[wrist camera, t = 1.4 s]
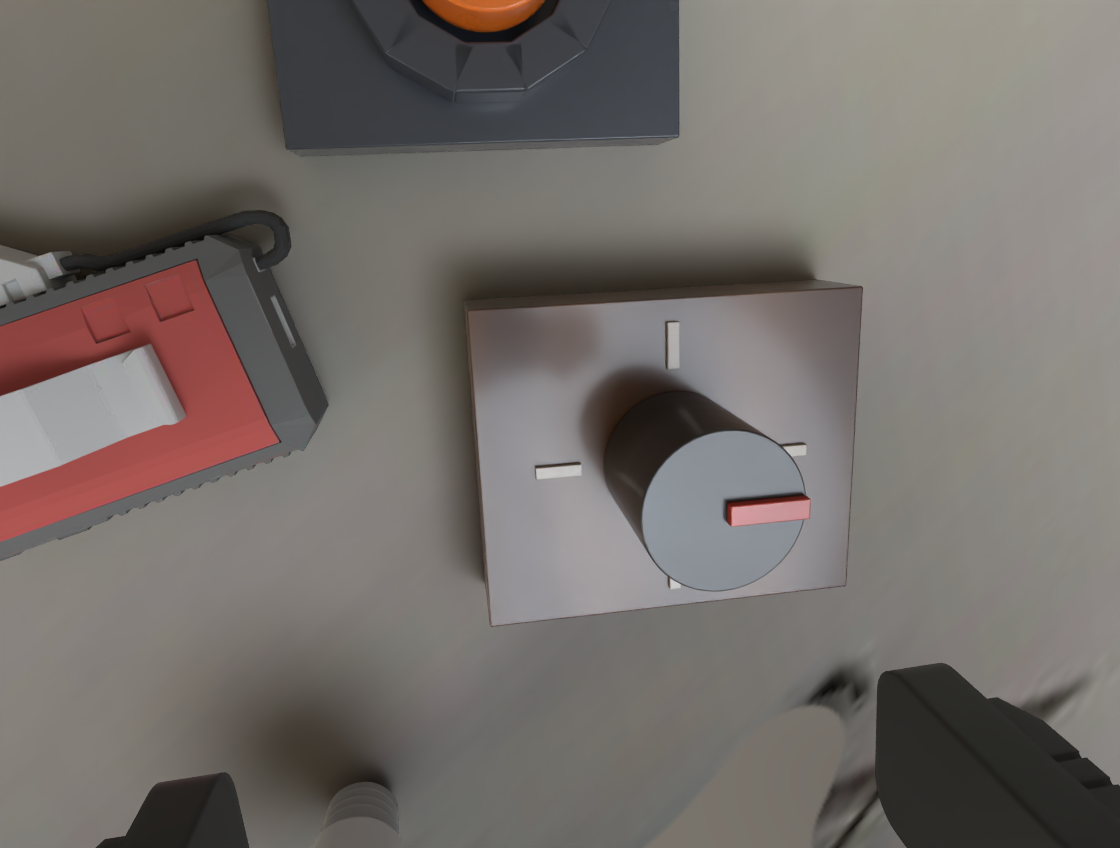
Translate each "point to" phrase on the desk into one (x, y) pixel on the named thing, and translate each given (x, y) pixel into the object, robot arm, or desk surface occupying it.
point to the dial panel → (618, 386)
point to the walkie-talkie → (143, 376)
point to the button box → (474, 77)
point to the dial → (705, 491)
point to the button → (484, 13)
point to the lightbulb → (361, 819)
